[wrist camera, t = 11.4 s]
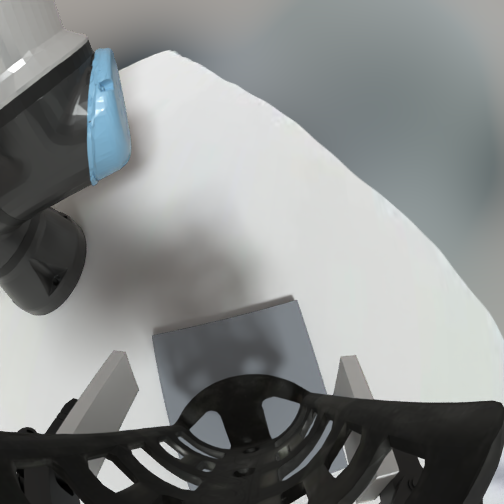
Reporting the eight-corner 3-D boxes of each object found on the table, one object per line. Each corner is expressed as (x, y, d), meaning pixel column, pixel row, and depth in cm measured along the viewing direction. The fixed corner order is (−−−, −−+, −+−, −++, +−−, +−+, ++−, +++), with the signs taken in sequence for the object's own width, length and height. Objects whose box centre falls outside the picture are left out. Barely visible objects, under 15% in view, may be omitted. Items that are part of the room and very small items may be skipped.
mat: (155, 337, 27) (151, 335, 26) (296, 302, 28) (297, 299, 27) (196, 497, 19) (193, 500, 18) (345, 464, 20) (348, 466, 19)
